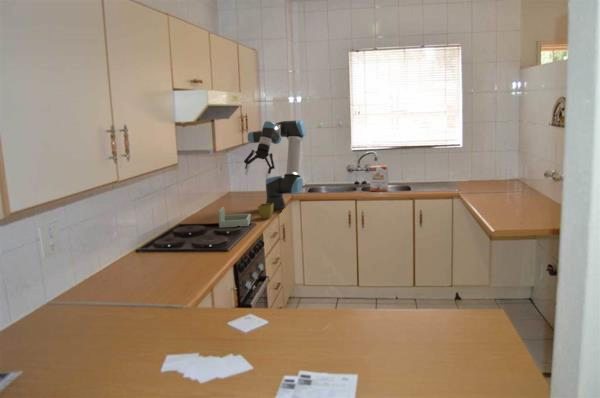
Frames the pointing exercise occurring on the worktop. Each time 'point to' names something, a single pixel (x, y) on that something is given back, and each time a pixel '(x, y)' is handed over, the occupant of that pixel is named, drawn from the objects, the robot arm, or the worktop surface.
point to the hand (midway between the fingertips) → (256, 176)
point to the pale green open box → (233, 219)
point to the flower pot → (265, 210)
